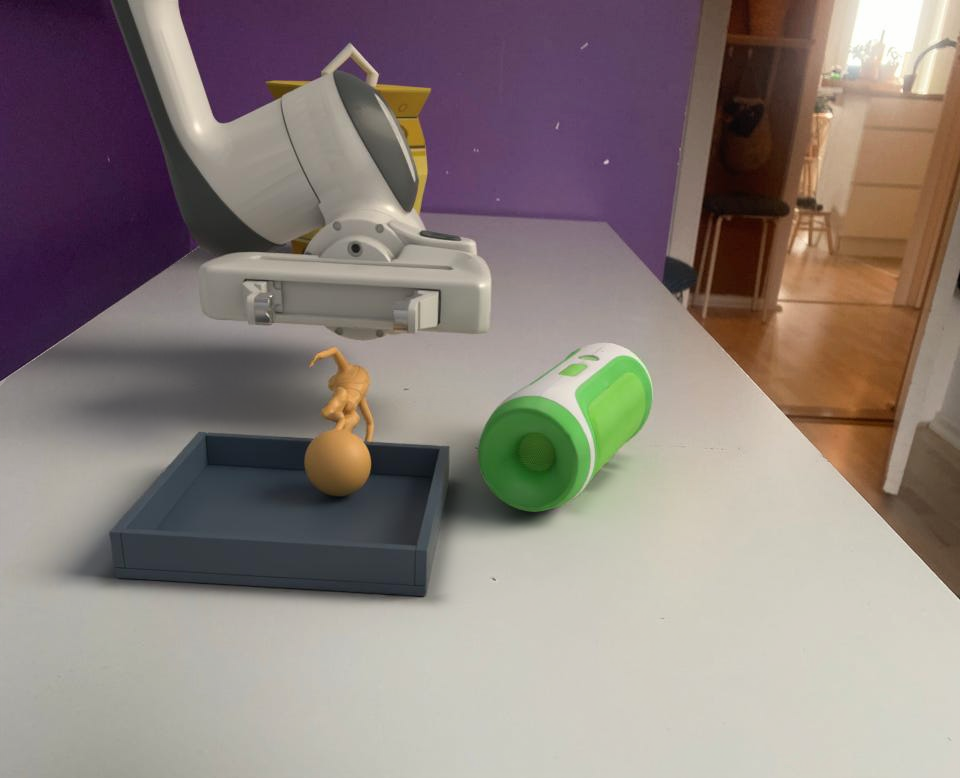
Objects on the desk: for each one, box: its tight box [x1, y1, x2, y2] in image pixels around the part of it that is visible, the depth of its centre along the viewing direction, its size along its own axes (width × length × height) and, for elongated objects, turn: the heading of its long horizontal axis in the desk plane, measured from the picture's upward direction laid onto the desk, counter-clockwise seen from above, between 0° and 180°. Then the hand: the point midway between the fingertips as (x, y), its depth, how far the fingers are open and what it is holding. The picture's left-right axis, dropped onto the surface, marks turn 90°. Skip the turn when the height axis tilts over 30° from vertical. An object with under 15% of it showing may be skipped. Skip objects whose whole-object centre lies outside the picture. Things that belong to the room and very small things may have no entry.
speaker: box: [477, 342, 654, 513], centre depth 68 cm, size 18×7×8 cm, turn 157°
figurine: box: [304, 346, 375, 496], centre depth 65 cm, size 8×6×12 cm
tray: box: [108, 431, 451, 597], centre depth 60 cm, size 16×16×3 cm
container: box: [264, 42, 432, 255], centre depth 130 cm, size 21×21×25 cm
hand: (330, 316), depth 66 cm, fingers open, 8 cm apart
